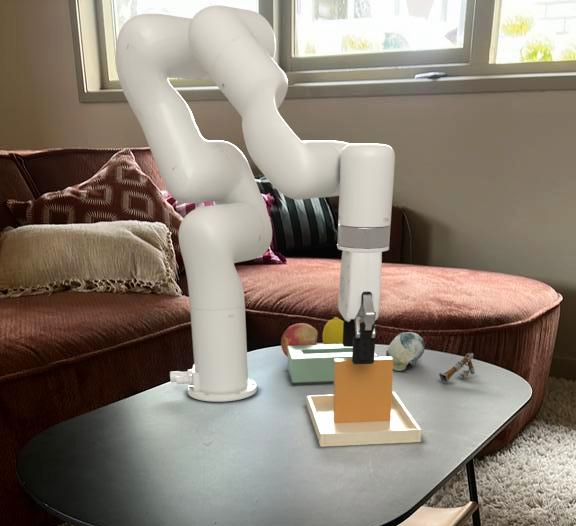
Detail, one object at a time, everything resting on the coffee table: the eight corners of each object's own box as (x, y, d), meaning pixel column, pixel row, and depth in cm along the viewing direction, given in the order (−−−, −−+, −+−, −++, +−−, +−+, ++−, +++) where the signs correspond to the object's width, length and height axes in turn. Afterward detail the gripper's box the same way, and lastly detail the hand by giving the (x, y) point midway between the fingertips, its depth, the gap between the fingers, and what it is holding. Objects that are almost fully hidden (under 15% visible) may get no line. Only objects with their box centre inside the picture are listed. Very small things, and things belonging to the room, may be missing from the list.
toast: (334, 423, 121) (335, 361, 117) (333, 420, 122) (333, 358, 118) (390, 420, 122) (393, 359, 117) (388, 417, 123) (391, 356, 119)
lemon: (336, 350, 165) (336, 313, 161) (354, 355, 161) (354, 317, 157) (317, 355, 161) (317, 317, 158) (334, 360, 158) (335, 321, 154)
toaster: (292, 385, 142) (291, 358, 140) (287, 370, 151) (287, 345, 149) (382, 381, 143) (383, 355, 141) (372, 367, 152) (373, 342, 150)
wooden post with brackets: (480, 371, 145) (475, 351, 142) (450, 394, 143) (445, 374, 140) (473, 369, 146) (468, 349, 143) (444, 392, 144) (438, 372, 141)
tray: (320, 446, 113) (320, 434, 112) (306, 406, 130) (306, 395, 130) (421, 442, 114) (421, 429, 113) (394, 402, 131) (394, 391, 131)
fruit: (305, 370, 151) (304, 329, 148) (273, 364, 155) (272, 325, 152) (326, 361, 157) (326, 322, 153) (295, 356, 161) (295, 318, 157)
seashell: (382, 377, 151) (405, 362, 160) (415, 366, 146) (437, 351, 156) (371, 347, 150) (395, 333, 159) (404, 334, 145) (426, 321, 154)
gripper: (330, 230, 117) (326, 340, 125) (346, 247, 102) (341, 371, 110) (378, 230, 118) (371, 340, 126) (401, 247, 103) (392, 370, 111)
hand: (357, 354), depth 118 cm, fingers open, 9 cm apart
